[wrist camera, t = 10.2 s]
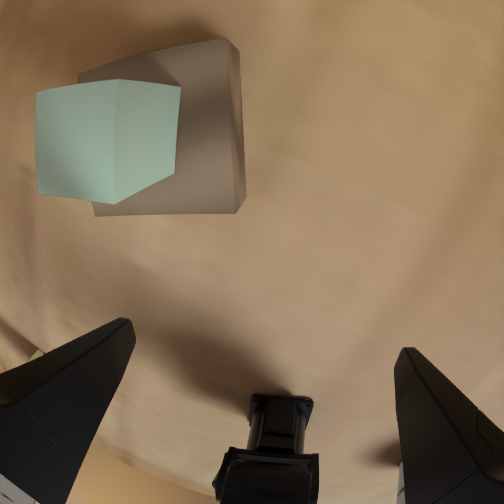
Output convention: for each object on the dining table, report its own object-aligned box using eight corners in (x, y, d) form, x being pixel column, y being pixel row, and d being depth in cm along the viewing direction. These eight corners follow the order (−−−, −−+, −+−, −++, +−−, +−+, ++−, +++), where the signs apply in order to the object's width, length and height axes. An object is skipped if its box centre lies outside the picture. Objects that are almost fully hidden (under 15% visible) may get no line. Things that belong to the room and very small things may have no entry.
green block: (174, 173, 16) (114, 204, 11) (105, 166, 17) (38, 193, 12) (181, 86, 14) (118, 78, 9) (108, 89, 15) (36, 91, 9)
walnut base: (247, 195, 21) (235, 213, 17) (123, 199, 22) (95, 216, 19) (240, 52, 16) (225, 38, 13) (111, 77, 18) (78, 74, 14)
